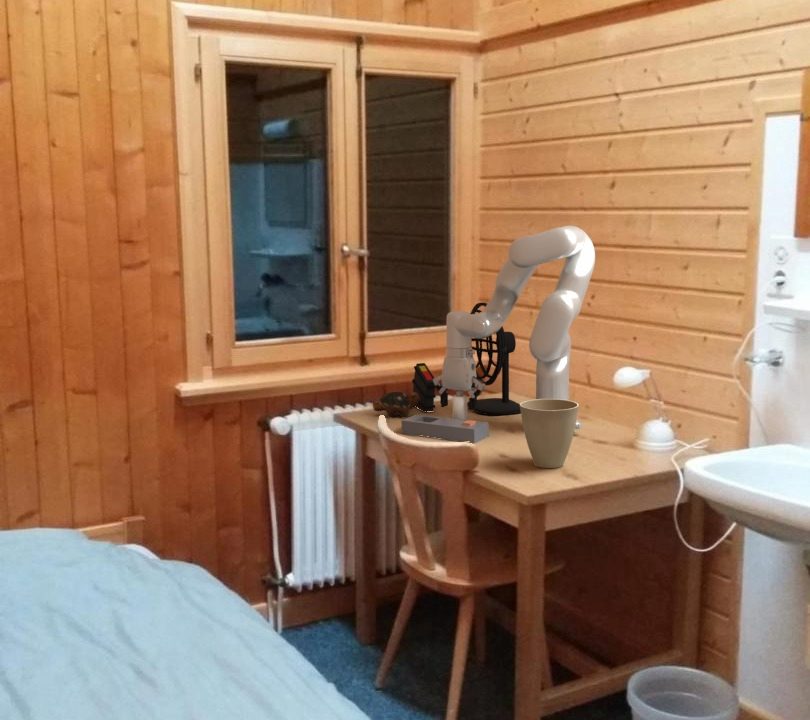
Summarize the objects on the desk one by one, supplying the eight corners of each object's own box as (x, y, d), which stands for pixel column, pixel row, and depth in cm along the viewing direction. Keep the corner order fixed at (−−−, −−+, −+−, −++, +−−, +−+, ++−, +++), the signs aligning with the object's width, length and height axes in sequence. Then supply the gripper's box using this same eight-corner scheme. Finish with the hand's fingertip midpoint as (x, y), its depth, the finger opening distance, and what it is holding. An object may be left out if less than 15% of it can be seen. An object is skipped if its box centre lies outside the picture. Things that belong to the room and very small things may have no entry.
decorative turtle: (420, 419, 306) (418, 394, 304) (372, 422, 307) (370, 397, 305) (421, 410, 315) (419, 386, 314) (375, 414, 317) (372, 390, 315)
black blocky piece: (418, 399, 327) (425, 362, 319) (432, 423, 318) (440, 385, 309) (407, 400, 326) (414, 363, 318) (422, 424, 316) (429, 386, 308)
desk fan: (452, 403, 328) (451, 299, 322) (500, 399, 333) (500, 296, 327) (482, 420, 302) (481, 307, 296) (534, 415, 307) (534, 305, 302)
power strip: (488, 436, 283) (488, 420, 282) (474, 443, 275) (474, 426, 274) (417, 427, 295) (417, 411, 294) (401, 433, 287) (401, 417, 287)
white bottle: (469, 424, 298) (469, 388, 296) (462, 427, 294) (462, 391, 292) (457, 422, 300) (456, 387, 298) (450, 425, 296) (449, 390, 294)
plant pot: (589, 463, 253) (590, 403, 250) (556, 476, 242) (556, 413, 239) (541, 453, 263) (541, 395, 260) (508, 465, 252) (507, 405, 249)
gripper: (490, 353, 292) (489, 409, 295) (439, 348, 301) (439, 402, 304) (478, 357, 286) (478, 414, 289) (427, 352, 295) (427, 407, 297)
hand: (458, 408), depth 296 cm, fingers open, 9 cm apart
